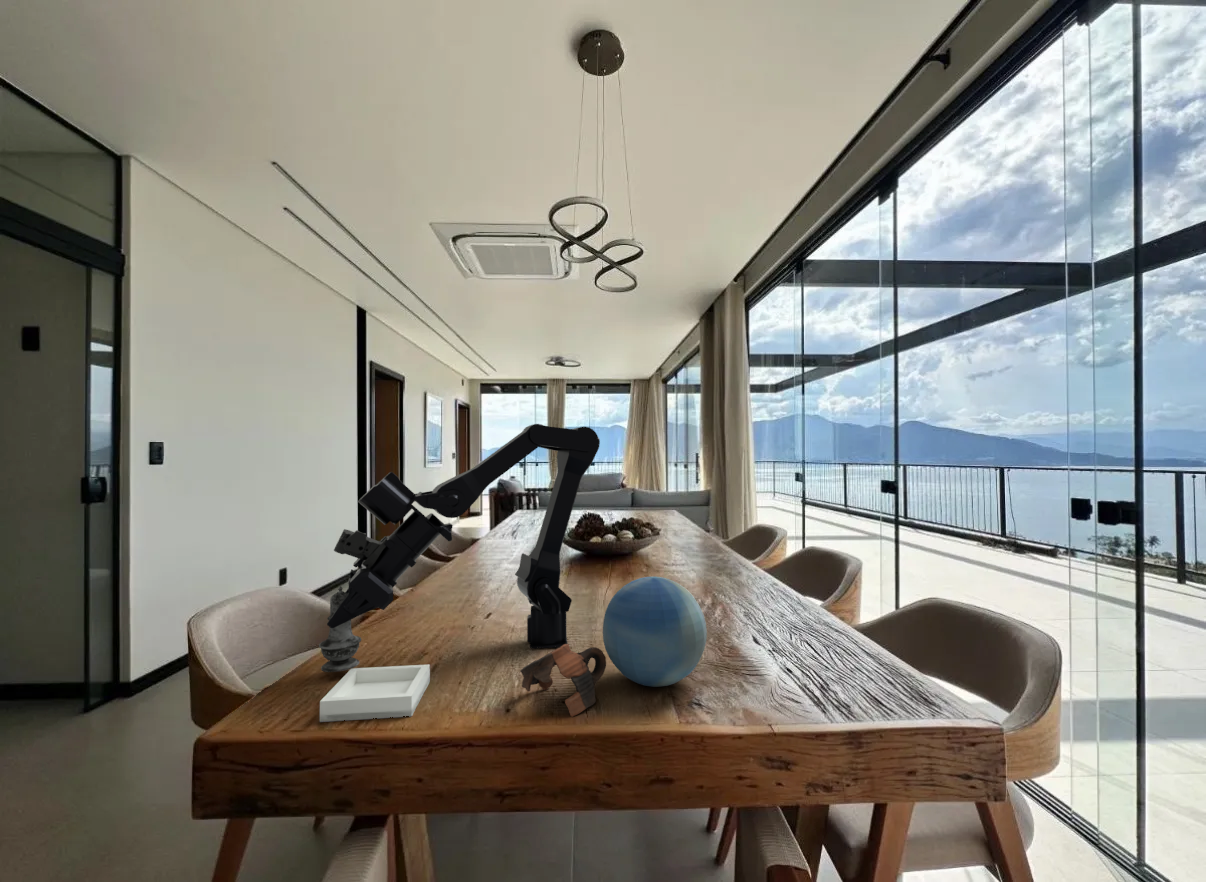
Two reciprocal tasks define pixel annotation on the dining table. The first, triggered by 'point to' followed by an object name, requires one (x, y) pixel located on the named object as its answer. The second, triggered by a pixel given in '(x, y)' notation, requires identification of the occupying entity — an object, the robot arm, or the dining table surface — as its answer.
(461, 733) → the dining table surface
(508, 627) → the dining table surface
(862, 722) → the dining table surface
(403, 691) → the box
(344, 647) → the grey stone finial
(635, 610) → the decorative ball
